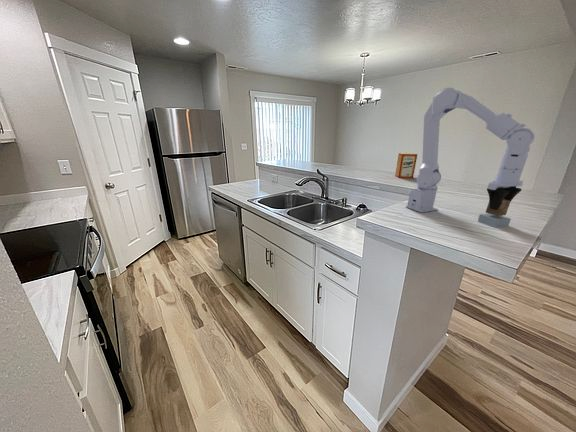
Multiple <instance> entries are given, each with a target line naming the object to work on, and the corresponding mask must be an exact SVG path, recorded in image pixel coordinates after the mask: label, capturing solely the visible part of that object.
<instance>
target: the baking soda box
mask: <svg viewBox="0 0 576 432" xmlns="http://www.w3.org/2000/svg"><path fill="white" fill-rule="evenodd" d="M397 157H398V158H397V163H396V168H395V169H396V170H395V175H394V176H395V177H396V178H398V179H414V174H415V169H416V163H417V160H418V153H413V152H399V153H398V156H397Z"/></svg>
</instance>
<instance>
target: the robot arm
mask: <svg viewBox="0 0 576 432" xmlns="http://www.w3.org/2000/svg"><path fill="white" fill-rule="evenodd" d="M455 109H463V110H467V111H469V112H470V113H472V114H473V115H475V116H476V117H478V118H479V119H481V120H482V121H484V122H485V129H486V130H487V131H489V132H491V134H493V135H495V136H496V137H498V138H499V139H501V140H502V141H506V144H507V145H506V148H505V151H504V153H503V154H502V158H501V161H500V165H499V168H498V171H497V174H496V177H495V180H493V181H492V182H491V181H490V182H488V185H487V188H486V192H487V195H488V197H489V201H490V209H494V210H498V208H499V207H500V205H501V203H502V201H503V199H505V200H509V201H513V199H514V198H515V197H516V196H517V195H518V194H519V193H521V192H522V188H520V187H522V186H523V184H524V181H523V180H520V179H521V177H522V173H523V170H524V168H525V166H526V165H525V164H526V162H527V161H528V160H527V159H528V156H529V152H530V147H531V145H532V144H533V142H534V141H535V133H534V131H532V130H531V128H526V125H527V124H525V123H520V122H519V121H518V120H516V119H514V118H512V116H513V114H511V113H509V112H508V113H505V112H499V113H495V112H494V111H493V110H491V109H490V108H488V107H487V106H486V105H484V104H483V103H481V102H480V101H479V100H477V99H476V98H474V97H473V96H472V95H468V94H467V93H464V92H462V91H460V90H457V89H455V88H453V87H446V88H443V89H441V90H440V91H439V92H438V93H436V95H435V96H433V98H432V102H431V103H430V105H429V106H428V109H427V110H426V112H425V114H424V116H423V137H422V138H423V139H422V141H423V142H422V161H421V162H422V164H421V166H420V168H419V173H418V175H417V177H416V184H417V185H416V187H415V188H414V189H412V190H410V192H409V195H408V199H407V204H406V205H405V208H407V209H410V210H413V211H416V212H419V213H425V212H433V211H438V210H439V209H438V208H437V207H434V204H435V201H436V196H437V192H438V187H439V186H437V184H439V182H441V180H442V174H441V173H440V172H441V171H440V166H439V163H438V162H439V161H438V160H439V159H438V158H439V156H438V155H439V141H440V140H439V139H440V138H439V137H440V121H441V119H442V118H444V116H446V115H447V114H448V113H449V112H451V111H453V110H455ZM489 201H488V202H489Z"/></svg>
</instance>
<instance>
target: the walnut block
mask: <svg viewBox="0 0 576 432" xmlns="http://www.w3.org/2000/svg"><path fill="white" fill-rule="evenodd" d="M510 204H511V201H509V200H505V199H503V201H502V203H501V205H500V207H499V208H498V210H494V209H490V201H488V203H487V207H486V209H485V213H484V214H487V213H489V214H492V215H496V216H506V215H507V212H508V209H509V207H510Z"/></svg>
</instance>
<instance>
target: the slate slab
mask: <svg viewBox="0 0 576 432" xmlns="http://www.w3.org/2000/svg"><path fill="white" fill-rule="evenodd" d="M477 219H478V220H477V222H478V223H480V224H484V225H487V226H489V227H493V228H495V229H496V228H504V227H509V226H510V223H511V219H512V218H510V217H507V216H505V215H503V216H496V215H492V214H489V213H480V214H479V216H478V218H477Z"/></svg>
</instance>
